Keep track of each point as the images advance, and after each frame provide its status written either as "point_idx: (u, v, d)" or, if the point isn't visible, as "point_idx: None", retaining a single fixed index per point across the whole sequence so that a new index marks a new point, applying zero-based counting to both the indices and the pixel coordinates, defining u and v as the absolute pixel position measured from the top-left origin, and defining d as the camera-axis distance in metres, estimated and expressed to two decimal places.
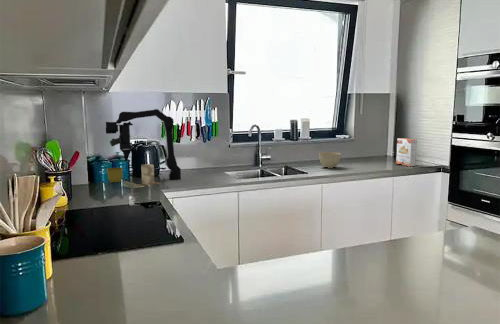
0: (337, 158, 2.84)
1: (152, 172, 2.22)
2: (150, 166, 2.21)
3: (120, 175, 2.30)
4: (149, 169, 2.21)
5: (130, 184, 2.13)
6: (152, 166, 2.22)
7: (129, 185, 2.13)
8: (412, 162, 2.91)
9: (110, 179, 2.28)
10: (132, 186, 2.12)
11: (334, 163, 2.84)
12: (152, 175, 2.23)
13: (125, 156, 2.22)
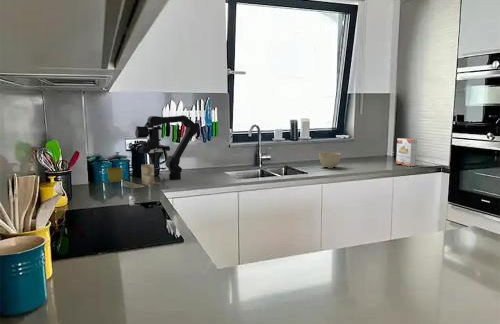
0: (337, 158, 2.84)
1: (152, 172, 2.22)
2: (150, 166, 2.21)
3: (120, 175, 2.30)
4: (149, 169, 2.21)
5: (130, 184, 2.13)
6: (152, 166, 2.22)
7: (129, 185, 2.13)
8: (412, 162, 2.91)
9: (110, 179, 2.28)
10: (132, 186, 2.12)
11: (334, 163, 2.84)
12: (152, 175, 2.23)
13: (151, 159, 2.29)
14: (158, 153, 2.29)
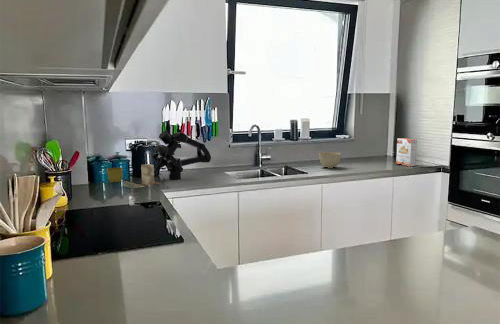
0: (337, 158, 2.84)
1: (152, 172, 2.22)
2: (150, 166, 2.21)
3: (120, 175, 2.30)
4: (149, 169, 2.21)
5: (130, 184, 2.13)
6: (152, 166, 2.22)
7: (129, 185, 2.13)
8: (412, 162, 2.91)
9: (110, 179, 2.28)
10: (132, 186, 2.12)
11: (334, 163, 2.84)
12: (152, 175, 2.23)
13: (159, 166, 2.27)
14: None
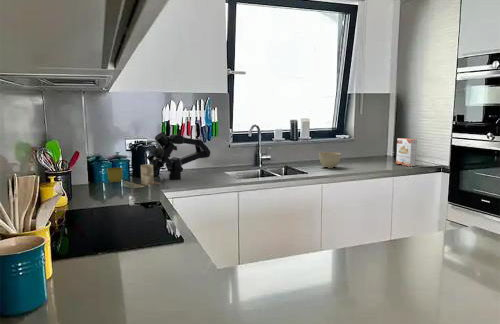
0: (337, 158, 2.84)
1: (151, 172, 2.22)
2: (149, 166, 2.21)
3: (120, 175, 2.30)
4: (148, 169, 2.20)
5: (130, 184, 2.13)
6: (151, 166, 2.22)
7: (129, 185, 2.13)
8: (412, 162, 2.91)
9: (110, 179, 2.28)
10: (132, 186, 2.12)
11: (334, 163, 2.84)
12: (151, 175, 2.22)
13: (154, 168, 2.25)
14: None
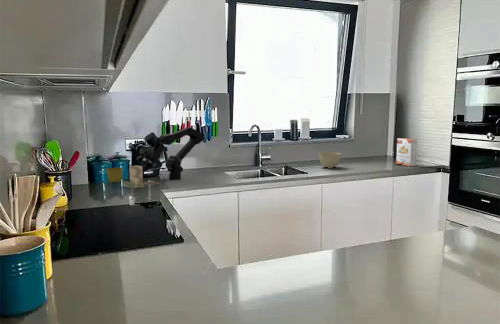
0: (337, 158, 2.84)
1: (141, 174, 2.17)
2: (138, 168, 2.15)
3: (120, 175, 2.30)
4: (137, 171, 2.15)
5: (130, 184, 2.13)
6: (141, 168, 2.16)
7: (129, 185, 2.13)
8: (412, 162, 2.91)
9: (110, 179, 2.28)
10: (132, 186, 2.12)
11: (334, 163, 2.84)
12: (141, 177, 2.17)
13: (144, 169, 2.20)
14: None
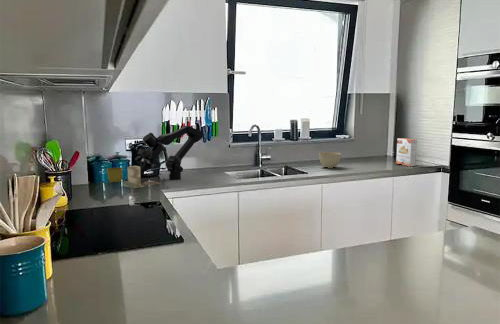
0: (337, 158, 2.84)
1: (139, 174, 2.16)
2: (136, 168, 2.15)
3: (120, 175, 2.30)
4: (135, 171, 2.14)
5: (130, 184, 2.13)
6: (139, 168, 2.16)
7: (129, 185, 2.13)
8: (412, 162, 2.91)
9: (110, 179, 2.28)
10: (132, 186, 2.12)
11: (334, 163, 2.84)
12: (139, 177, 2.16)
13: (142, 170, 2.19)
14: None
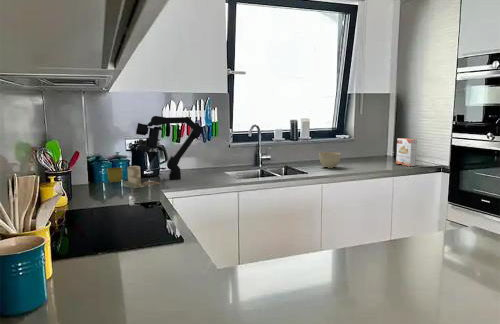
0: (337, 158, 2.84)
1: (139, 174, 2.16)
2: (136, 168, 2.15)
3: (120, 175, 2.30)
4: (135, 171, 2.14)
5: (130, 184, 2.13)
6: (139, 168, 2.16)
7: (129, 185, 2.13)
8: (412, 162, 2.91)
9: (110, 179, 2.28)
10: (132, 186, 2.12)
11: (334, 163, 2.84)
12: (139, 177, 2.16)
13: (148, 158, 2.32)
14: None
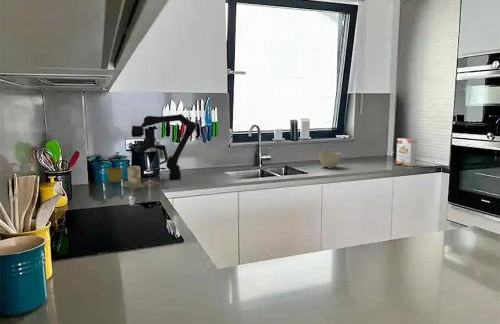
0: (337, 158, 2.84)
1: (139, 174, 2.16)
2: (136, 168, 2.15)
3: (120, 175, 2.30)
4: (135, 171, 2.14)
5: (130, 184, 2.13)
6: (139, 168, 2.16)
7: (129, 185, 2.13)
8: (412, 162, 2.91)
9: (110, 179, 2.28)
10: (132, 186, 2.12)
11: (334, 163, 2.84)
12: (139, 177, 2.16)
13: (148, 158, 2.34)
14: (152, 152, 2.34)
